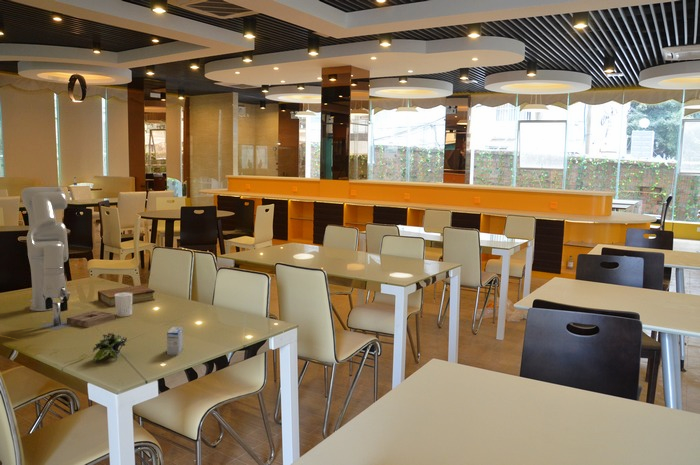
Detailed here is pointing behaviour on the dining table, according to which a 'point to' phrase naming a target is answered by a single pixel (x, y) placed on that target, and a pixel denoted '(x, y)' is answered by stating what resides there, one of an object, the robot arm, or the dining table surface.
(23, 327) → the dining table surface
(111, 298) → the diary
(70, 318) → the hole block
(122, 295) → the white cup
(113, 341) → the green leafy plant
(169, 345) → the medicine box
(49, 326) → the mat
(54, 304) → the peg
